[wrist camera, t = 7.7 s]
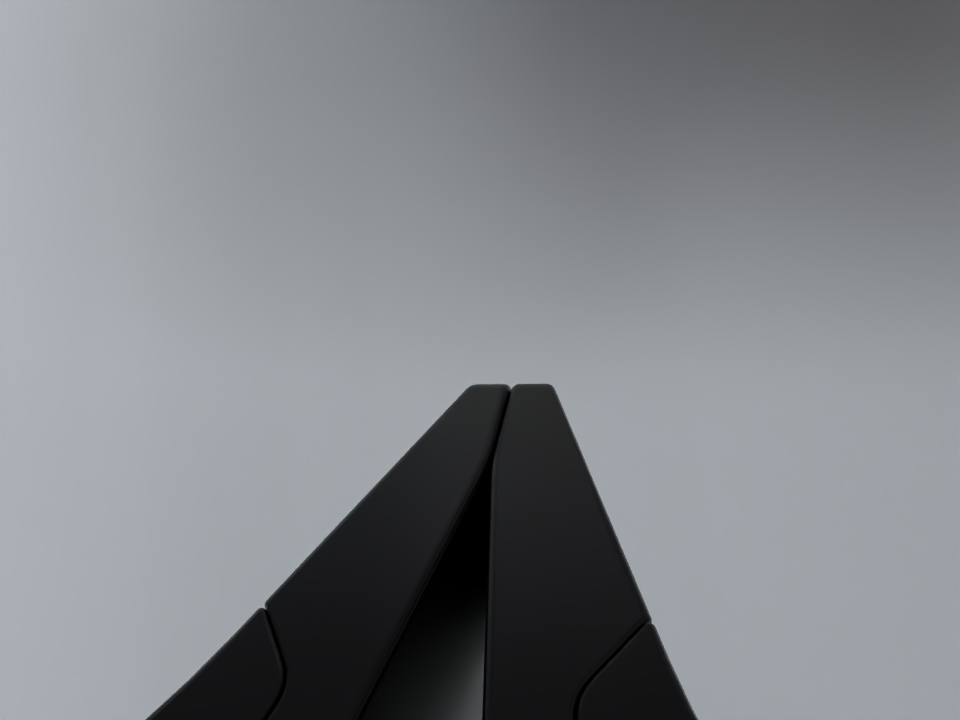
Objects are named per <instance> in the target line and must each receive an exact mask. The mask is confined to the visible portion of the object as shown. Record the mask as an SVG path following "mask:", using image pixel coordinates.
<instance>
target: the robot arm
mask: <svg viewBox="0 0 960 720" xmlns="http://www.w3.org/2000/svg"><path fill="white" fill-rule="evenodd" d="M265 608H266V610H265V609H264V608H259V609H258V610H257V611H256V612H255V613H254V614H253V615H252V616H251V617H250V618H249V619H248V620H247V621H246V623H245V624H244V625H243V626H242V627H241V628H240V629H239V630H238V631H237V632H236V633H235V634H234V635H233V636H232V637H231V638H230V639H229V640H228V641H227V642H226V643H225V644H224V645H223V646H222V647H221V648H220V649H219V650H218V651H217V652H216V653H215V654H214V655H213V656H212V657H211V658H210V659H209V660H208V661H207V662H206V663H205V664H204V665H203V666H202V667H201V668H200V669H199V670H198V671H197V672H196V673H195V674H194V675H193V676H192V677H191V678H190V679H189V680H188V681H187V682H186V683H185V684H184V685H183V686H182V687H181V688H180V689H179V690H177V691H176V692H175V693H174V694H173V695H172V696H171V697H170V698H169V699H168V700H167V701H165V702H164V703H163V704H162V705H161V706H160V707H159V708H158V709H157V710H156V711H155V712H153V713H152V714H151V715H150V716H149V717H148V718H147V719H146V720H698V719H697V717H696V715H695V713H694V711H693V709H692V707H691V705H690V703H689V701H688V699H687V697H686V695H685V692H684V690H683V688H682V686H681V684H680V682H679V680H678V677H677V675H676V673H675V671H674V669H673V667H672V665H671V662H670V660H669V658H668V656H667V653H666V651H665V649H664V646H663V644H662V642H661V639H660V637H659V635H658V632H657V630H656V627H655V626H654V625H653V624H652V620H651V617H650V614H649V612H648V610H647V607H646V605H645V602H644V600H643V598H642V595H641V593H640V591H639V588H638V586H637V583H636V581H635V579H634V576H633V574H632V572H631V569H630V567H629V564H628V562H627V560H626V557H625V555H624V553H623V550H622V548H621V545H620V543H619V541H618V538H617V536H616V534H615V531H614V529H613V526H612V524H611V522H610V519H609V517H608V515H607V512H606V510H605V507H604V505H603V503H602V500H601V498H600V496H599V493H598V491H597V488H596V486H595V484H594V481H593V479H592V477H591V474H590V472H589V469H588V467H587V465H586V462H585V460H584V457H583V455H582V453H581V450H580V448H579V446H578V443H577V441H576V438H575V436H574V434H573V431H572V429H571V427H570V424H569V422H568V419H567V417H566V415H565V412H564V410H563V408H562V405H561V403H560V400H559V398H558V396H557V393H556V391H555V389H554V387H553V386H552V385H550V384H517V385H515V386H514V387H513V388H512V389H511V388H510V387H509V386H508V385H506V384H476V385H472V386H470V387H468V388H467V389H466V390H465V391H464V392H463V393H462V394H461V396H460V397H459V398H458V399H457V400H456V401H455V402H454V403H453V404H452V405H451V406H450V407H449V408H448V409H447V410H446V411H445V412H444V414H443V415H442V416H441V417H440V418H439V419H438V420H437V421H436V422H435V423H434V424H433V425H432V426H431V427H430V428H429V429H428V430H427V431H426V433H425V434H424V435H423V436H422V437H421V438H420V439H419V440H418V441H417V442H416V443H415V444H414V445H413V446H412V447H411V448H410V449H409V451H408V452H407V453H406V454H405V455H404V456H403V457H402V458H401V459H400V460H399V461H398V462H397V463H396V464H395V465H394V466H393V467H392V469H391V470H390V471H389V472H388V473H387V474H386V475H385V476H384V477H383V478H382V479H381V480H380V481H379V482H378V483H377V484H376V485H375V487H374V488H373V489H372V490H371V491H370V492H369V493H368V494H367V495H366V496H365V497H364V498H363V499H362V500H361V501H360V502H359V503H358V504H357V506H356V507H355V508H354V509H353V510H352V511H351V512H350V513H349V514H348V515H347V516H346V517H345V518H344V519H343V520H342V521H341V522H340V524H339V525H338V526H337V527H336V528H335V529H334V530H333V531H332V532H331V533H330V534H329V535H328V536H327V537H326V538H325V539H324V540H323V542H322V543H321V544H320V545H319V546H318V547H317V548H316V549H315V550H314V551H313V552H312V553H311V554H310V555H309V556H308V557H307V558H306V559H305V561H304V562H303V563H302V564H301V565H300V566H299V567H298V568H297V569H296V570H295V571H294V572H293V573H292V574H291V575H290V576H289V577H288V579H287V580H286V581H285V582H284V583H283V584H282V585H281V586H280V587H279V588H278V589H277V590H276V591H275V592H274V593H273V594H272V595H271V597H270V598H269V599H268V600H267V601H266V602H265Z"/></svg>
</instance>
